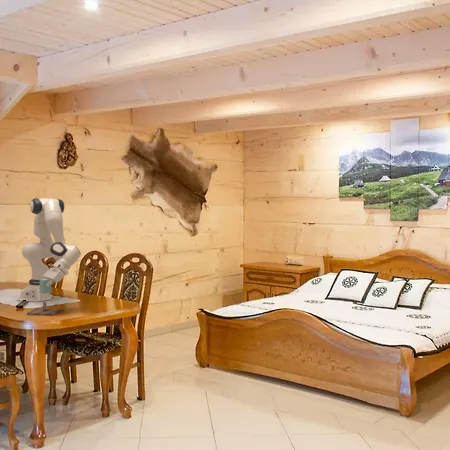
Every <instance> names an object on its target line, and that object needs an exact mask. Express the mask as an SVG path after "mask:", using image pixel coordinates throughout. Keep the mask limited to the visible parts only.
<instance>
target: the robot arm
mask: <svg viewBox="0 0 450 450" xmlns="http://www.w3.org/2000/svg"><path fill="white" fill-rule="evenodd" d="M29 209H30V211H31V213H32V214H34V219H33V235H35V237H37V238H38V239H39V242H30V243H27V244H24V245H23V246H22V248H21V254H22V255H21V256H22V257H23V258H24V259H26V260H27V261H28V263H29V265H30V268H31V278H30V279H29V280H28V285H27V286H25V287H24V288H23V289H22V290H21V291H20V295H19V297H17V298H16V301H17V302H19V301H20V302H24V301H23V300H26V301H25V302H35V303H37V302H46V301H50V300H52V296H51V293H45V294H43V293H40V279H50V281H49V282H48V283H46V284H45V285H46V286H47V287H48V286H49V285H50V284H51V285H52V284H53V283H59V282H60V281H61V280H63V278H65V277H66V276H67V275H68V274H69V270H70V268H71V267H72V266H73V265H74V264H75V263H76V262H77V261H78V260H79V258H80V257H81V256H82V255H81V251H80V249H79V248H78V247H77V245H74V244H72V245H71V244H70V245H69V244H66V239H65V235H64V234H65V233H64V222H63V213H64V211H65V202H64V200H63V199H59V198H50V197H48V198H46V197H45V198H44V197H43V198H41V197H40V198H38V197H37V198H33V199H31V201H30V204H29ZM52 237H53V238H52ZM51 258H53V259H54V260H55V262H54V263H53V264H52V267H50V268H49V266H48V265H47V264H45V263H43V259H51Z"/></svg>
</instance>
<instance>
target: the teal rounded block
mask: <svg viewBox="0 0 450 450" xmlns="http://www.w3.org/2000/svg"><path fill="white" fill-rule="evenodd" d="M49 281H50V279H40V293H43V294H45V293H50V294H51V293H52V284H50V285H49V286H48V287H47V286H46V285H45V284H46V283H48V282H49Z"/></svg>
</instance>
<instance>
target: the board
mask: <svg viewBox="0 0 450 450" xmlns="http://www.w3.org/2000/svg"><path fill="white" fill-rule="evenodd" d="M62 310H63V309H62V308H58V307H56V308H50V307H47V302H46V301H42V307H35V308H33V309H32V310H30V311H28V312H26V315H27V316H51V317H52V316H55V315H57V314H58V313H60V312H61V311H62Z"/></svg>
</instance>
